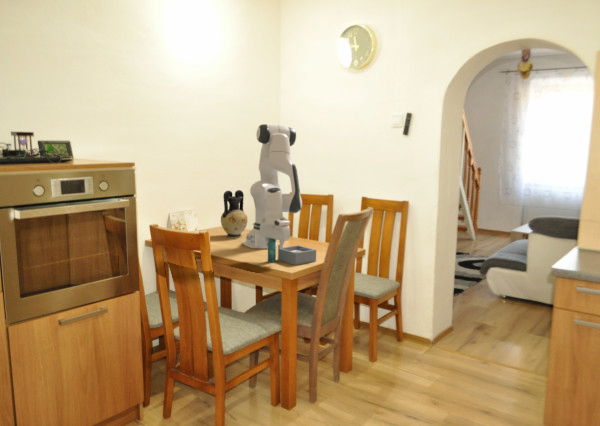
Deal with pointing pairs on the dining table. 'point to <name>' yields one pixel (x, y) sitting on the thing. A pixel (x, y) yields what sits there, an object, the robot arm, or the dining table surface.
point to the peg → (271, 250)
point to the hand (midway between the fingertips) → (274, 247)
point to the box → (297, 255)
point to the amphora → (234, 214)
